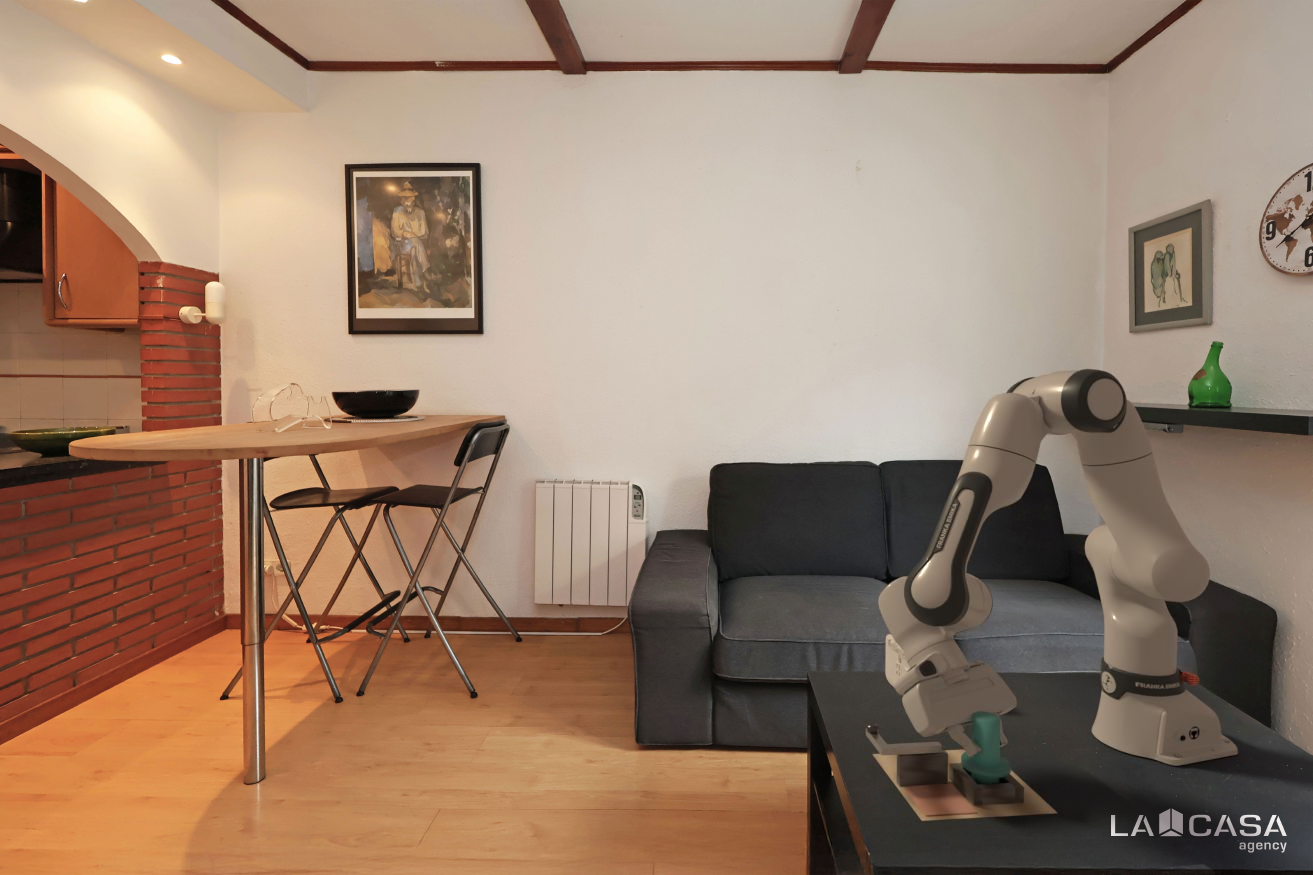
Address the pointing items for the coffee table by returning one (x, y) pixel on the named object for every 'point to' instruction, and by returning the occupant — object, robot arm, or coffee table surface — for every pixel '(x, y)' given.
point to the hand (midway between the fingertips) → (989, 749)
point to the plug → (986, 750)
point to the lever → (899, 748)
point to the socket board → (957, 788)
